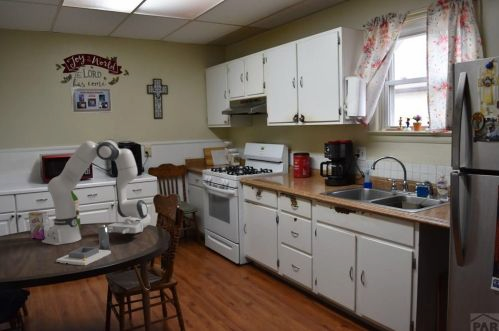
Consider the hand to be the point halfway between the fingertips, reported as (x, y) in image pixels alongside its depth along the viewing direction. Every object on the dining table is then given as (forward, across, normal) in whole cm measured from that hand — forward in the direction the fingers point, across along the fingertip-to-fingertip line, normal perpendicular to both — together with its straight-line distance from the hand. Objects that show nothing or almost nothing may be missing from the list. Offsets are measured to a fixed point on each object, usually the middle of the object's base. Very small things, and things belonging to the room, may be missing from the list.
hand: (115, 231), depth 223 cm
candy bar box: (+1, -56, +7) cm, 56 cm away
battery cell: (+9, 0, +7) cm, 11 cm away
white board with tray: (+24, 0, +7) cm, 25 cm away
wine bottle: (-21, -52, +7) cm, 56 cm away
